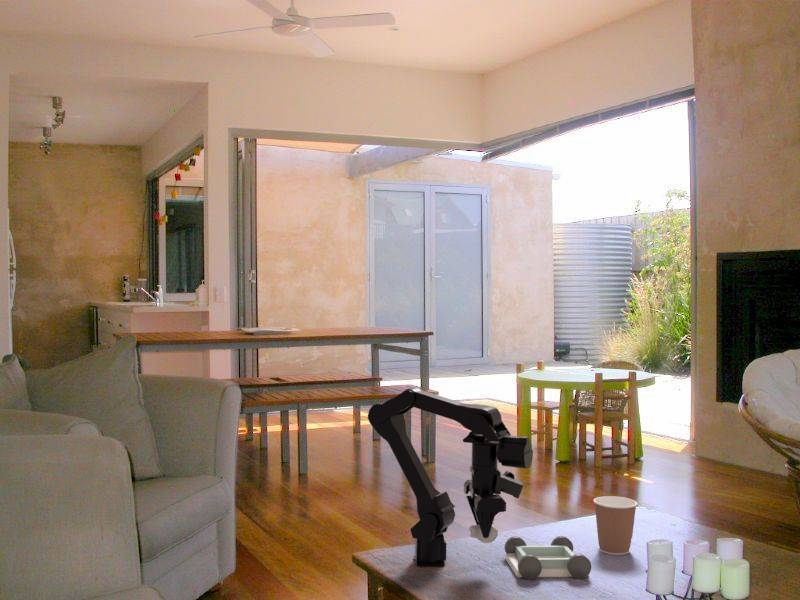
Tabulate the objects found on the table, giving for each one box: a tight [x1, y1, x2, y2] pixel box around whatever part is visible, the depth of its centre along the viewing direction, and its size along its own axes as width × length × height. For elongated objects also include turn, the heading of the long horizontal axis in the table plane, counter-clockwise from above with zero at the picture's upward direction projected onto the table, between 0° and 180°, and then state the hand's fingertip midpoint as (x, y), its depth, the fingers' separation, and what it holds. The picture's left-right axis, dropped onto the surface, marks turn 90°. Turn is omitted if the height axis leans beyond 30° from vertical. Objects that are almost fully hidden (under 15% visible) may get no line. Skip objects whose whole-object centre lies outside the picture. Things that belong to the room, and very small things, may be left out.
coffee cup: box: [593, 495, 638, 556], centre depth 206 cm, size 10×10×12 cm
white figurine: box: [468, 518, 499, 544], centre depth 189 cm, size 5×7×8 cm
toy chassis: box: [504, 535, 592, 581], centre depth 193 cm, size 16×15×5 cm
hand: (483, 533), depth 189 cm, fingers closed on white figurine, 5 cm apart
